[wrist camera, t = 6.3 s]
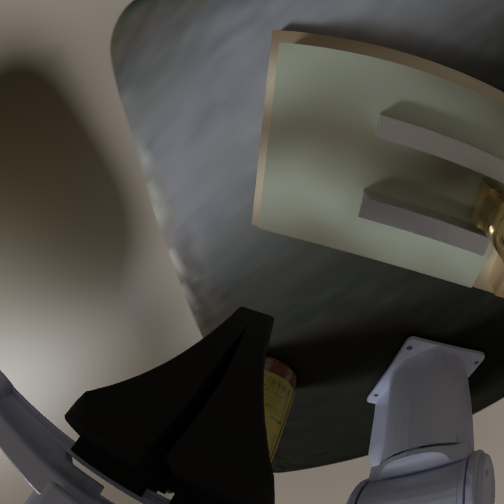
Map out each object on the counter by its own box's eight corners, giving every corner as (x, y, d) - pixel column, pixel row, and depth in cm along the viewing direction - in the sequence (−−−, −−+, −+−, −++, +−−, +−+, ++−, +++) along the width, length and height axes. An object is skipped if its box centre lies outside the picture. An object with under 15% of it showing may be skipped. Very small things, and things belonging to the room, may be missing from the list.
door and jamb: (557, 307, 14) (569, 332, 11) (256, 218, 20) (240, 239, 18) (613, 174, 7) (635, 189, 5) (277, 32, 14) (260, 22, 11)
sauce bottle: (232, 347, 28) (124, 530, 12) (296, 355, 25) (204, 570, 9) (246, 387, 31) (164, 544, 15) (302, 395, 28) (231, 571, 12)
